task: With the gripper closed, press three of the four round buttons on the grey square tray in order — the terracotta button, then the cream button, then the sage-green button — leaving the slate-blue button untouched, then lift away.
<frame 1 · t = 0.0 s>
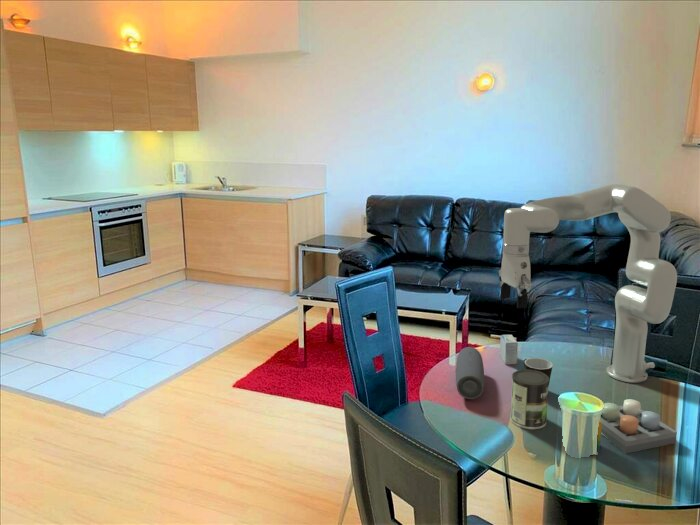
hand: (513, 302, 168), 31 cm above the table, tool pointing down, fingers open, 9 cm apart
coffee mug: (536, 389, 178), on the table
crayon box: (589, 448, 146), on the table
button sage: (610, 411, 153), point 5 cm above the table, slide at 0.0 cm
bluetooth speaker: (469, 386, 181), on the table
medicine box: (508, 360, 200), on the table
button terracotta: (628, 424, 146), point 5 cm above the table, slide at 0.0 cm
button cream: (631, 407, 155), point 5 cm above the table, slide at 0.0 cm
coffee can: (528, 420, 160), on the table
grey square tray: (628, 432, 152), on the table
button slate: (650, 420, 148), point 5 cm above the table, slide at 0.0 cm
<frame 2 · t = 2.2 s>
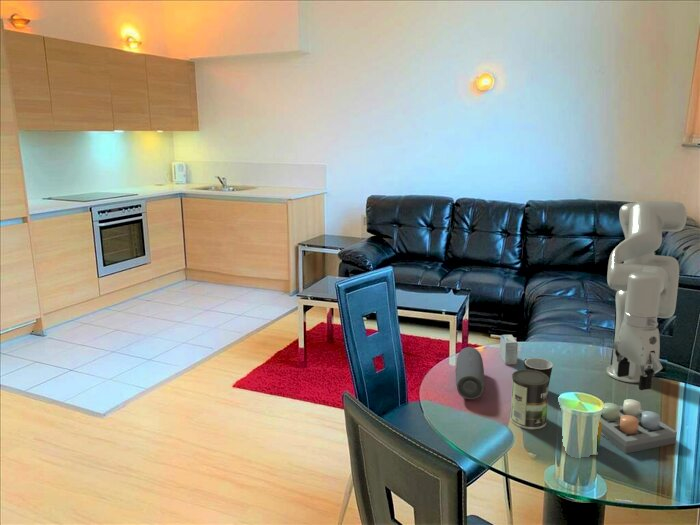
hand: (633, 381, 143), 18 cm above the table, tool pointing down, fingers open, 7 cm apart
nothing on the table moved.
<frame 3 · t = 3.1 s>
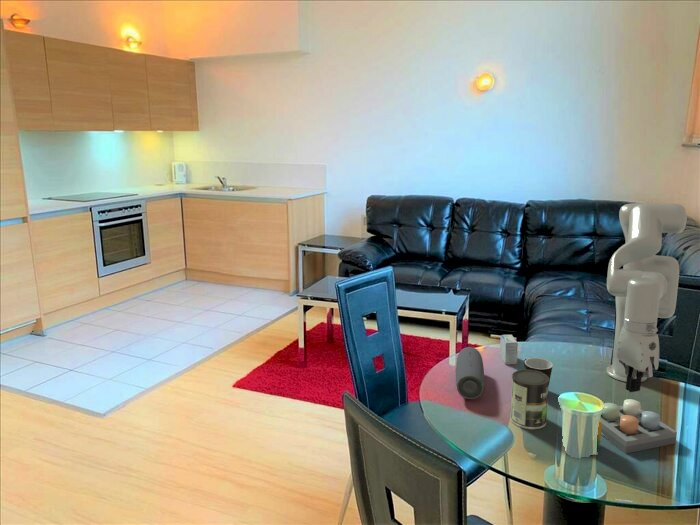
hand: (632, 390, 144), 16 cm above the table, tool pointing down, fingers closed
nothing on the table moved.
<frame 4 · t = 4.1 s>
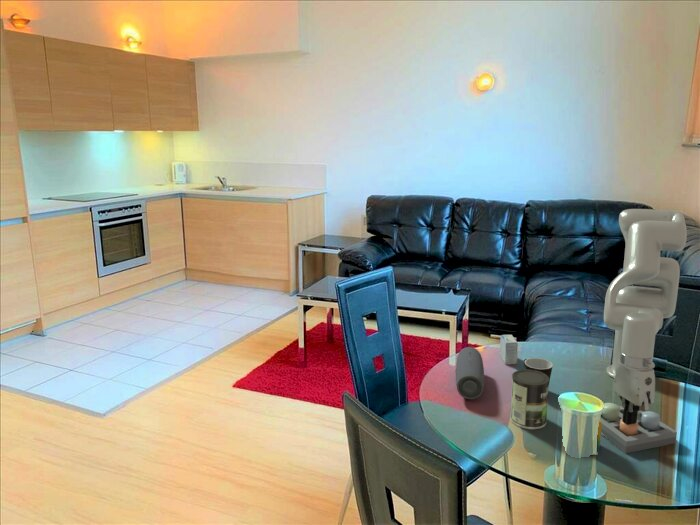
hand: (629, 422, 146), 6 cm above the table, tool pointing down, fingers closed
button terracotta: (628, 427, 147), point 4 cm above the table, slide at 0.9 cm, touching gripper
everything else where it was.
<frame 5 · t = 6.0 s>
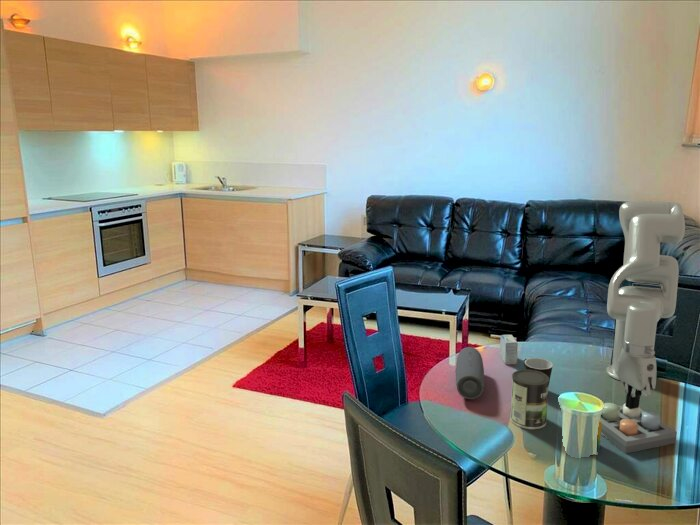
hand: (632, 407, 154), 6 cm above the table, tool pointing down, fingers closed
button terracotta: (628, 428, 147), point 4 cm above the table, slide at 1.3 cm
button cream: (631, 411, 155), point 4 cm above the table, slide at 1.2 cm, touching gripper
everything else where it was.
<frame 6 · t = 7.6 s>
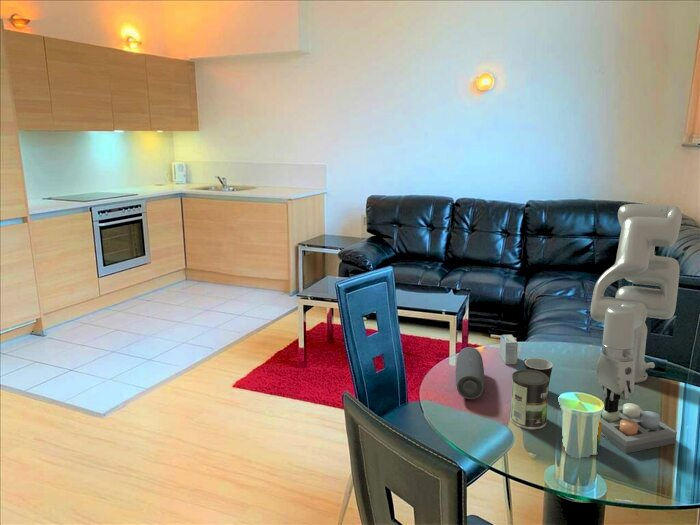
hand: (610, 410, 153), 6 cm above the table, tool pointing down, fingers closed
button sage: (610, 415, 153), point 4 cm above the table, slide at 1.2 cm, touching gripper
button cream: (631, 412, 155), point 4 cm above the table, slide at 1.3 cm
everything else where it was.
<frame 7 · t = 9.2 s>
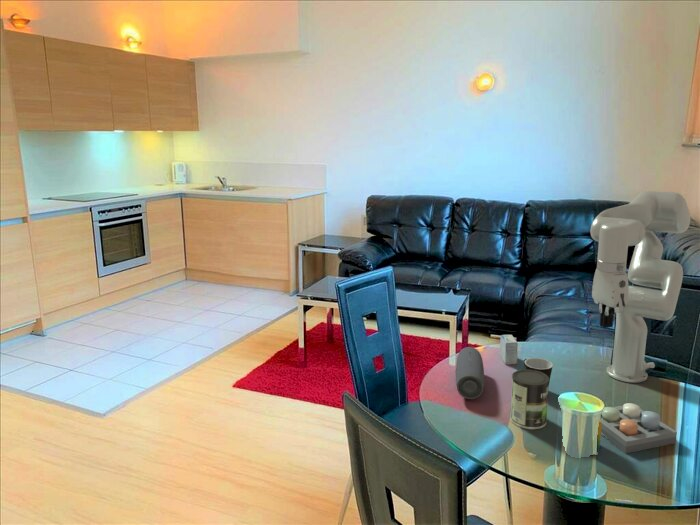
hand: (606, 326, 159), 27 cm above the table, tool pointing down, fingers closed
button sage: (610, 415, 153), point 4 cm above the table, slide at 1.3 cm
everything else where it was.
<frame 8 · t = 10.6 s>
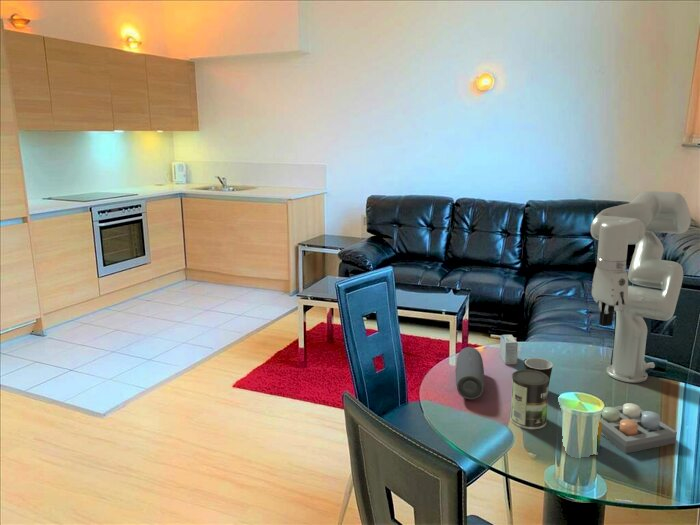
hand: (605, 324, 159), 27 cm above the table, tool pointing down, fingers closed
nothing on the table moved.
at the end: button terracotta slide at 1.3 cm; button cream slide at 1.3 cm; button sage slide at 1.3 cm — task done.
